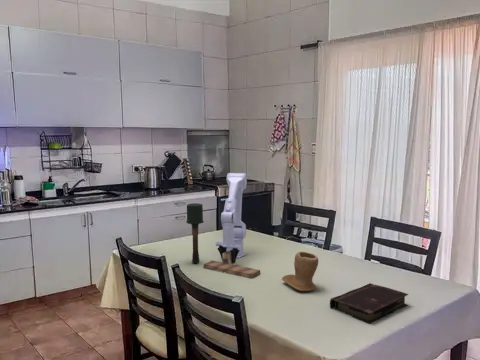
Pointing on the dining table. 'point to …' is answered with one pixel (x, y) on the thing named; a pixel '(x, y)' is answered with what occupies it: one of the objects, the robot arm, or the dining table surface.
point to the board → (232, 269)
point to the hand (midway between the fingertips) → (228, 262)
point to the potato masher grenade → (195, 226)
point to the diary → (369, 302)
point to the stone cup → (303, 272)
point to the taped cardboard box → (227, 257)
